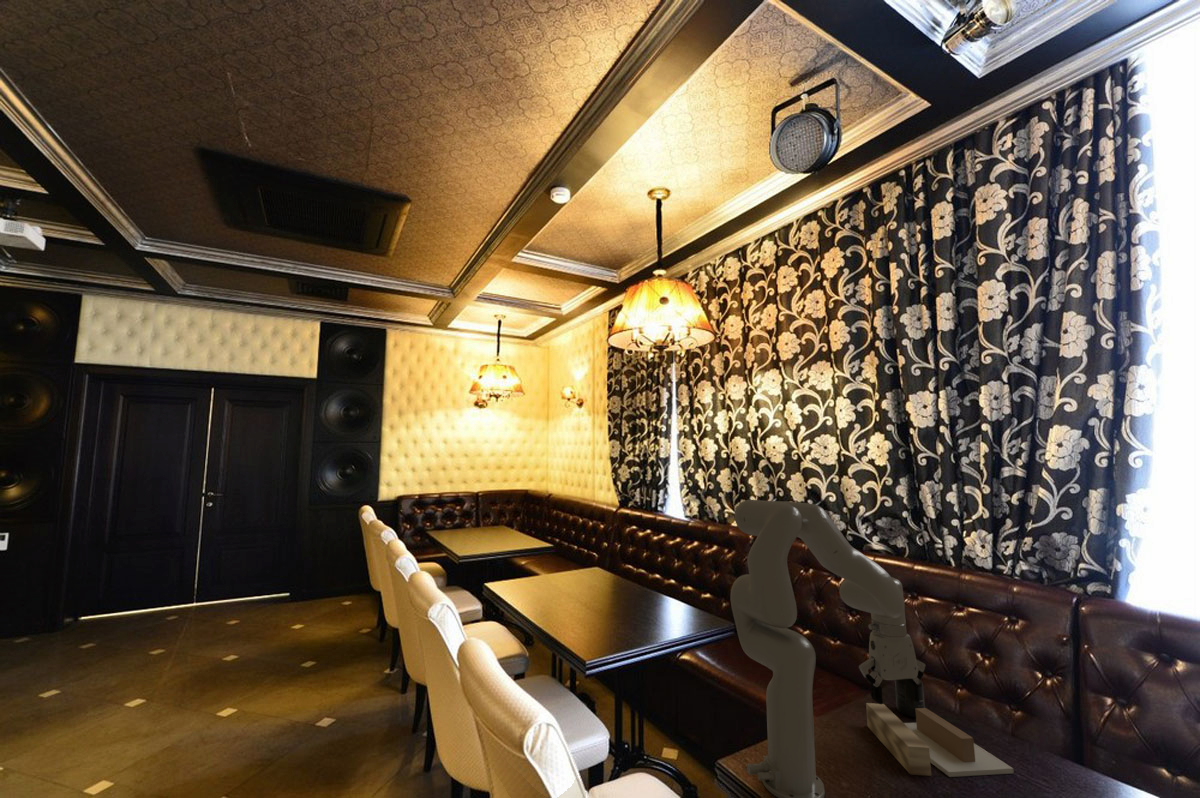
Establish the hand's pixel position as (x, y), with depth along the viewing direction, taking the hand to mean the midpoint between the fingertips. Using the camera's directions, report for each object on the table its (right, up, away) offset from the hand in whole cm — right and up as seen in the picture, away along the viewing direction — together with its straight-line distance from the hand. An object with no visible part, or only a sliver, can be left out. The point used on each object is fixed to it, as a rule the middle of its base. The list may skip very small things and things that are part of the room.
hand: (895, 700), depth 117 cm
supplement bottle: (+14, -14, +16) cm, 25 cm away
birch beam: (-1, -11, -2) cm, 11 cm away
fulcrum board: (+11, -11, -2) cm, 16 cm away
